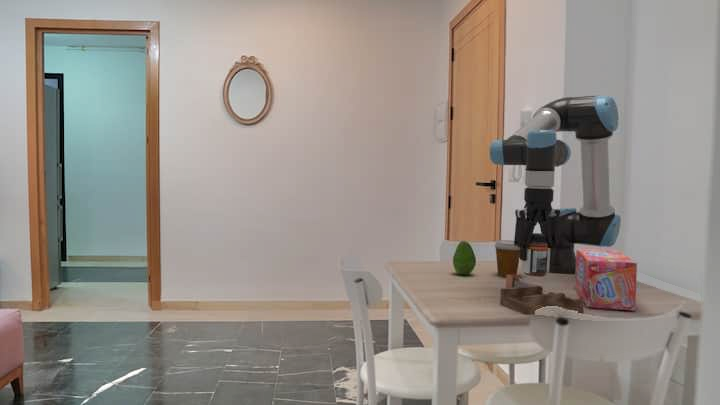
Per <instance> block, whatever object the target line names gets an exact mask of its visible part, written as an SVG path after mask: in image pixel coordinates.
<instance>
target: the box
mask: <svg viewBox="0 0 720 405" xmlns="http://www.w3.org/2000/svg"><path fill="white" fill-rule="evenodd" d="M575 256H576V272H575V276H574V289H575V291H576V292H577V294H578V295H579V297H580V299H583V300H584V305H585V307H586V308H594V309H605V310H607V309H608V310H619V311H630V312H631V311H632V312H635V311H636V296H637V294H636V293H637V292H636V291H637V278H638V277H637V275H638V274H637V273H638V272H637V271H638V270H637V267H638V263H637V262H636V261H634V260H633V259H631V258H630V257H628V256H627V255H625V254H624V253H623V252H621V251H620V250H617V249H601V248H583V247H578V248H576V252H575Z"/></svg>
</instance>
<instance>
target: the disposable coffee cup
mask: <svg viewBox="0 0 720 405" xmlns="http://www.w3.org/2000/svg"><path fill="white" fill-rule="evenodd" d="M494 248H495V253H496V255H495V256H496V266H497V267H496V268H497V276H498V277H502V278H506V274H515V275H518V269H519V263H520V248H519V247H518V246H515V245H514V240H508V239H507V240H500V239H499V240H496V241H495V244H494Z"/></svg>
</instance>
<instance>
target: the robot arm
mask: <svg viewBox="0 0 720 405" xmlns="http://www.w3.org/2000/svg"><path fill="white" fill-rule="evenodd" d="M618 127H619V110H618V105H617V103H616V101H615V100H614V98H613V97H611V96H610V95H586V96H574V97H571V96H570V97H568V96H567V97H563V98H558V99H555V100H553V101H551V102H548V103H546V104H545V105H543V106H541V107H540V108H538V109H537V110H536V111H535V113H534V114H533V116H532V118H531V119H530V120H528V122H526V123H525V124H524V125H522V126H521V127H520V128H519V129H518V130H516V131H515V132H514V133H512V134H511V135H510V136H509V137H508V138H507V139H496V140H493V141H492V142H491V144H490V146H489V159H490V162H491V163H492V164H494V165H499V166H525V174H524V175H525V176H524V185H525V186H526V187H525V188H524V195H523V197H524V199H523V200H524V202H525V204H524V206H523V208H520V209H516V210H515V212H514V213H515V229H514V238H513V239H514V240H513V241H514V245H515V246H518V247H519V248H520V258H519V261H521V263H520V265H521V266H520V272H521V273H524V274H525V273H530V258H531V249H528V248H529V244H530V241H531V237H532V234H533V233H534V230H535V228H536V226H537V224H539V228H540V234H544V235H545V237H544V238H545V239H544V241H545V242H546V243H547V244H548V252H547V271H546V273H558V274H574V273H576V252H575V244H576V245H584V246H591V247H592V246H593V247H594V246H595V247H599V248H601V247H603V248H604V247H606V248H610V247H612V246H614V245H615V243H616V242H617V240H618V238H619V237H618V236H619V234H620V228H621V221H622V220H621V215H620V214H619V215H618V214H615V211H616V210H615V208H614V207H613V206H612V205H611V204H610V203H611V202H610V200H611V198H610V175H609V174H610V172H609V170H610V169H609V167H610V166H609V139H610V138H612V137H613V135H614V133H613V132H614V131H616V130H617V129H618ZM558 132H560V133H561V132H569V133H570V132H571V133H572V132H573V133H574V132H575V139H576V140H577V141H579V142H580V158H581V160H580V161H581V177H582V178H581V179H582V183H581V184H582V198H583V199H582V200H583V204H582V206H581V207H580V208H579V211H577V208H576V207H567V208H566V207H565V208H563V207H562V208H553V207H552V203H553V201H554V192H555V190H554V189H553V187H554V186H555V171H556V170H555V169H556V168H557V167H562V166H563V165H565V164H567V162H569V160H570V158H571V154H572V151H571V148H570V146H569V144H568V143H566V142H565V141H563V140H561V139H557V133H558ZM555 167H556V168H555Z"/></svg>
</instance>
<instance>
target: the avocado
mask: <svg viewBox="0 0 720 405" xmlns="http://www.w3.org/2000/svg"><path fill="white" fill-rule="evenodd" d="M476 261H477V258H476V255H475V253H474V249H473V247H472V245H471V244H470V242H468V241H466V240H462V241H460V242H459V243H458V244H457V246H456V249H455V251H454V254H453V257H452V263H453V268H454V270H455V272H456V273H458V274H459V275H462V276H463V275H464V276H465V275H469V274H470V273H472V272H473V271H474V270H475V267H476Z"/></svg>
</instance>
